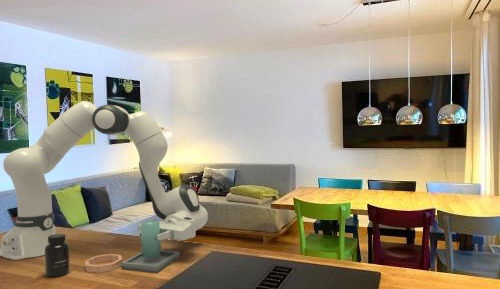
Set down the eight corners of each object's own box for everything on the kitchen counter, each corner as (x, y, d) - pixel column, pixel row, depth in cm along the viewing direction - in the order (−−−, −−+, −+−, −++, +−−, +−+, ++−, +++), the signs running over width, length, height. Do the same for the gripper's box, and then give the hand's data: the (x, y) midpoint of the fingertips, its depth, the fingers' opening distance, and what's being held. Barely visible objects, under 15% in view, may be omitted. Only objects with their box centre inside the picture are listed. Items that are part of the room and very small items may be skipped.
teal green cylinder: (138, 257, 121) (136, 223, 121) (148, 251, 127) (147, 219, 126) (154, 258, 119) (152, 224, 119) (164, 252, 125) (162, 220, 124)
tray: (121, 269, 118) (121, 262, 118) (146, 254, 132) (146, 249, 132) (157, 273, 114) (156, 266, 114) (179, 257, 128) (179, 251, 128)
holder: (78, 270, 118) (77, 264, 118) (101, 258, 129) (101, 253, 129) (106, 273, 115) (106, 267, 115) (128, 261, 125) (128, 255, 125)
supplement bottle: (59, 278, 112) (57, 239, 112) (40, 277, 114) (38, 238, 113) (74, 269, 119) (73, 232, 118) (56, 268, 120) (54, 232, 120)
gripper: (153, 214, 139) (125, 223, 127) (198, 219, 129) (172, 229, 117) (154, 231, 139) (126, 241, 127) (199, 237, 129) (173, 249, 117)
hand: (148, 236), depth 122 cm, fingers closed on teal green cylinder, 6 cm apart
